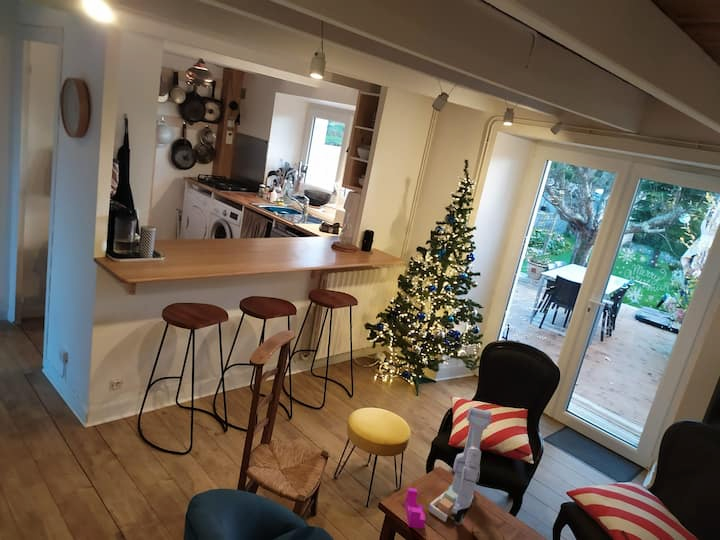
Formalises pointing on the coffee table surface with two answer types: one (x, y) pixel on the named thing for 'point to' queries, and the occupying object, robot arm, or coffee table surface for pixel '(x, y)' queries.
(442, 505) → the handled block
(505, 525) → the coffee table surface
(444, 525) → the coffee table surface
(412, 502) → the toy block
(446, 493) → the green block
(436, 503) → the rack
